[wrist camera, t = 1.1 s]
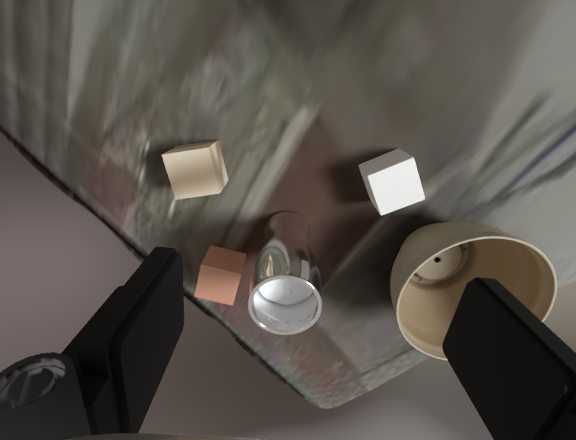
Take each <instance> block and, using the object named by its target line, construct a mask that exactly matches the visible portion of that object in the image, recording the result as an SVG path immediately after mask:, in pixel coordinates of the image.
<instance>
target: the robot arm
mask: <svg viewBox="0 0 576 440" xmlns="http://www.w3.org/2000/svg"><path fill="white" fill-rule="evenodd" d="M183 326H184V301H183V268H182V255H181V254H180V253H177V252H176V249H175V248H165V247H155V248H154V249H153V251H152V252H151V253H150V254H149V256H148V257H147V258H146V259H145V260H144V262H143V263H142V264H141V265H140V266H139V268H138V269H137V270H136V272H135V273H134V274H133V275H132V276H131V277H130V279H129V280H128V281H127V282H126V283H125V285H124V286H119V287H118V288H117V289H116V290H115V291H114V292H113V293H112V294H111V295H110V297H109V298H108V299H107V300H106V301H105V302H104V304H103V305H102V306H101V307H100V308H99V309H98V311H97V312H96V313H95V314H94V315H93V316H92V318H91V319H90V320H89V321H88V323H87V324H86V325H85V326H84V327H83V328H82V330H81V331H80V332H79V333H78V334H77V335H76V337H75V338H74V339H73V340H72V341H71V343H70V344H69V345H68V346H67V347H66V348H65V349H64V351H63V352H62V353H55V352H51V353H41V354H37V355H33V356H29V357H27V358H24V359H22V360H20V361H18V362H15V363H14V364H12V365H11V366H9V367H7V368H6V369H4V370H3V371H1V372H0V440H270V439H254V438H253V439H252V438H238V437H222V436H200V435H178V434H155V433H154V434H153V433H145V434H144V433H138V432H139V430H140V427H141V425H142V423H143V420H144V418H145V416H146V414H147V411H148V409H149V406H150V404H151V402H152V400H153V397H154V395H155V393H156V391H157V388H158V386H159V384H160V381H161V379H162V377H163V374H164V372H165V370H166V367H167V365H168V362H169V360H170V358H171V356H172V354H173V351H174V349H175V347H176V344H177V342H178V340H179V337H180V335H181V332H182V330H183ZM442 348H443V352H444V355H445V356H446V358H447V360H448V361H449V363H450V365H451V367H452V368H453V370H454V372H455V373H456V375H457V377H458V379H459V380H460V382H461V384H462V386H463V387H464V389H465V391H466V392H467V394H468V396H469V397H470V399H471V401H472V403H473V404H474V406H475V408H476V409H477V411H478V413H479V415H480V416H481V418H482V420H483V422H484V423H485V425H486V427H487V429H488V430H489V432H490V434H491V435H492V437H493V439H494V440H576V353H575V352H574V351H573V350H572V349H570V347H568V346H567V345H566V344H565V343H564V342H563V341H562V340H561V339H560V338H559V337H558V336H557V335H556V334H555V333H553V332H552V331H551V330H550V329H549V328H548V327H547V326H546V325H545V324H544V323H543V322H542V321H541V320H539V319H538V318H537V317H536V316H535V315H534V314H533V313H532V312H531V311H530V310H529V309H528V308H527V307H525V306H524V305H523V304H522V303H521V302H520V301H519V300H518V299H517V298H516V297H515V296H514V295H513V294H511V293H510V292H509V291H508V290H507V289H506V288H505V287H504V286H503V285H502V284H501V283H500V282H499V281H497V280H496V279H491V278H480V277H476V278H474V279H472V281H469V282H468V283H467V284H466V287H465V289H464V292H463V294H462V296H461V299H460V301H459V304H458V306H457V309H456V311H455V314H454V316H453V319H452V321H451V323H450V326H449V328H448V331H447V333H446V336H445V338H444V341H443V345H442Z"/></svg>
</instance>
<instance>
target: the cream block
mask: <svg viewBox="0 0 576 440" xmlns="http://www.w3.org/2000/svg"><path fill="white" fill-rule="evenodd" d="M358 166H359V169H360V172H361V175H362V178H363V180H364V183H365V186H366V189H367V192H368V195H369V197H370V200H371V202H372V203H373V205H374V206H375V208H376V209H377V211H378V212H379V214H380V215H381V216H382V215H385V214H387V213H390V212H393V211H395V210H398V209H400V208H403V207H406V206H408V205H411V204H414V203H416V202H419V201H422V200H424V199H425V196H424V193H423V189H422V186H421V182H420V178H419V175H418V171H417V167H416V164H415V160H414V157H412V156H411V155H409V154H407V153H406V152H404V151H402V150H401V149H399V148H398V149H395V150H393V151H391V152H388V153H386V154H383V155H381V156H379V157H376V158H374V159H371V160H369V161H366V162H364V163H362V164H359V165H358Z"/></svg>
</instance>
